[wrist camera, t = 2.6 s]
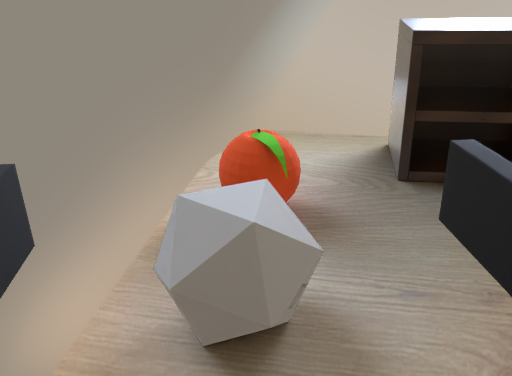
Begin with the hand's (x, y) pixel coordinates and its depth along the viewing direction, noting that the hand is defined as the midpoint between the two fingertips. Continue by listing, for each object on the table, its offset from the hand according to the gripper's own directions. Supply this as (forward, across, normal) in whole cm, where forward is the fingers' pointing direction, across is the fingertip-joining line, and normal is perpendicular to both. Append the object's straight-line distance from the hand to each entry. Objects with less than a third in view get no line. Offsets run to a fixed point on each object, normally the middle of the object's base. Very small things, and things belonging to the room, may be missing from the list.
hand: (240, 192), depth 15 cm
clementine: (+24, +3, -13) cm, 27 cm away
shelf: (+32, +26, -13) cm, 43 cm away
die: (+10, 0, -13) cm, 16 cm away
